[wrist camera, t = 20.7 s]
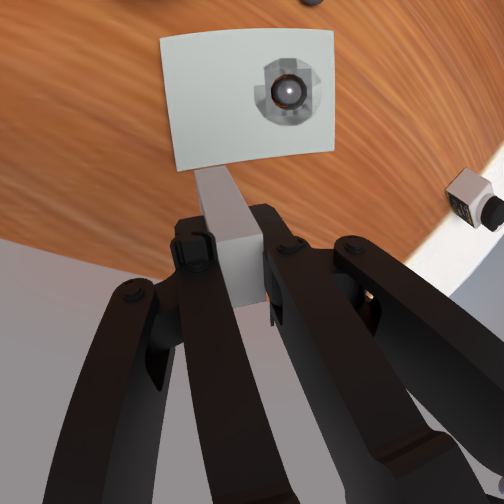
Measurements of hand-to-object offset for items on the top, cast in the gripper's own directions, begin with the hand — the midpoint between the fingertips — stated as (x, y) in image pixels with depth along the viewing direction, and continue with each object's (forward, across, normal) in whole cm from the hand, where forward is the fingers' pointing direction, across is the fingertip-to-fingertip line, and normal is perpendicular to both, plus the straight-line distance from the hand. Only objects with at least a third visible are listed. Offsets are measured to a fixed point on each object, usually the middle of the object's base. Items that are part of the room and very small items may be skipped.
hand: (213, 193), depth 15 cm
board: (+24, +8, +2) cm, 26 cm away
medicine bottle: (+25, +49, -16) cm, 57 cm away
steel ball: (+23, +12, +2) cm, 26 cm away
